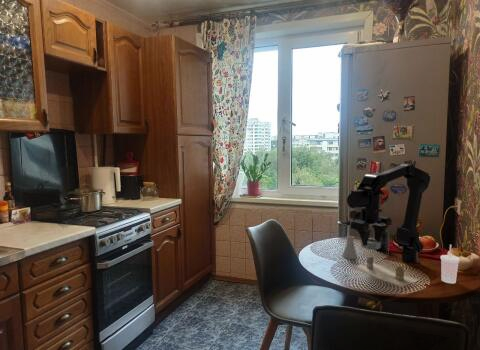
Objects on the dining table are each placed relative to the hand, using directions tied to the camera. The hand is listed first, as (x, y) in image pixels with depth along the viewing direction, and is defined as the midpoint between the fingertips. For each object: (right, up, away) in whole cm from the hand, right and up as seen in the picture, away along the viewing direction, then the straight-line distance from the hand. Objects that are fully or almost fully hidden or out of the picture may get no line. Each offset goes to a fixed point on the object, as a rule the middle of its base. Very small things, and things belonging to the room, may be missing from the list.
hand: (370, 244), depth 135 cm
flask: (-4, -10, +15) cm, 18 cm away
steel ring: (0, -1, 0) cm, 1 cm away
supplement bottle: (+15, -8, +26) cm, 31 cm away
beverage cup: (+26, -12, -9) cm, 30 cm away
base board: (+4, -12, -4) cm, 13 cm away
